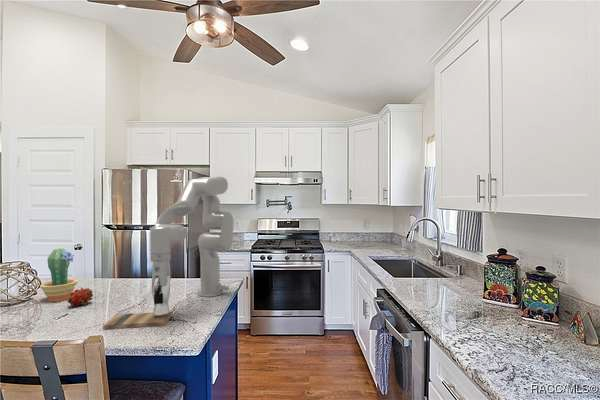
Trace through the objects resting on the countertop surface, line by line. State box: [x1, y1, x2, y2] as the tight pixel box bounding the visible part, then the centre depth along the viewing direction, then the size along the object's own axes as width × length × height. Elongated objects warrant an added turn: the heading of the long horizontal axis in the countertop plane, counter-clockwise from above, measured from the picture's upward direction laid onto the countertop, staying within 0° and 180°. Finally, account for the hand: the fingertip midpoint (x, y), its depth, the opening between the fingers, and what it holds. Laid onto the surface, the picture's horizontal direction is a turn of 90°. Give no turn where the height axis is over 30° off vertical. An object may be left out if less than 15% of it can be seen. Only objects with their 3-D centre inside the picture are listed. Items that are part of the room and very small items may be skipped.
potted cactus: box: [39, 247, 78, 303], centre depth 163 cm, size 15×15×25 cm
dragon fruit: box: [67, 287, 94, 308], centre depth 153 cm, size 8×8×12 cm
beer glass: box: [151, 276, 171, 316], centre depth 133 cm, size 7×7×15 cm
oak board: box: [102, 310, 173, 331], centre depth 130 cm, size 22×12×2 cm, turn 98°
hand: (161, 300), depth 133 cm, fingers closed on beer glass, 6 cm apart
